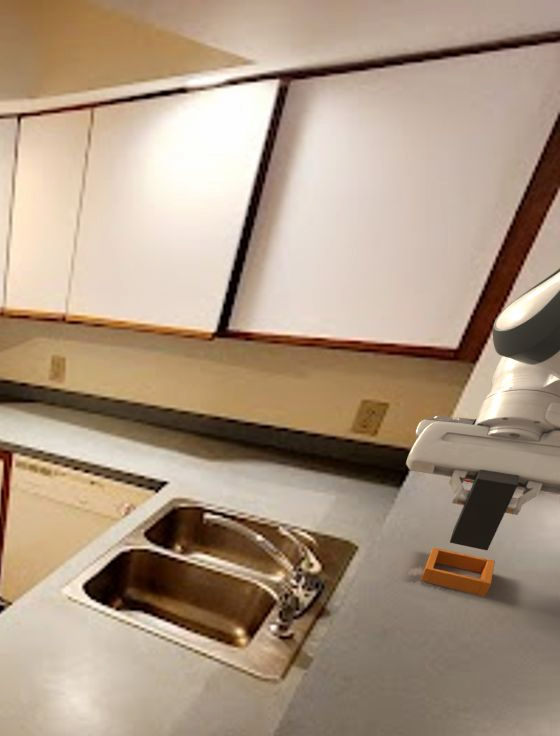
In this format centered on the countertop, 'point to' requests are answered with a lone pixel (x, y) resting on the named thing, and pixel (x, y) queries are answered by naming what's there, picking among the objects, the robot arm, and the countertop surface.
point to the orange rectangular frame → (456, 579)
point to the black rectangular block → (484, 509)
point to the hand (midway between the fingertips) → (484, 507)
